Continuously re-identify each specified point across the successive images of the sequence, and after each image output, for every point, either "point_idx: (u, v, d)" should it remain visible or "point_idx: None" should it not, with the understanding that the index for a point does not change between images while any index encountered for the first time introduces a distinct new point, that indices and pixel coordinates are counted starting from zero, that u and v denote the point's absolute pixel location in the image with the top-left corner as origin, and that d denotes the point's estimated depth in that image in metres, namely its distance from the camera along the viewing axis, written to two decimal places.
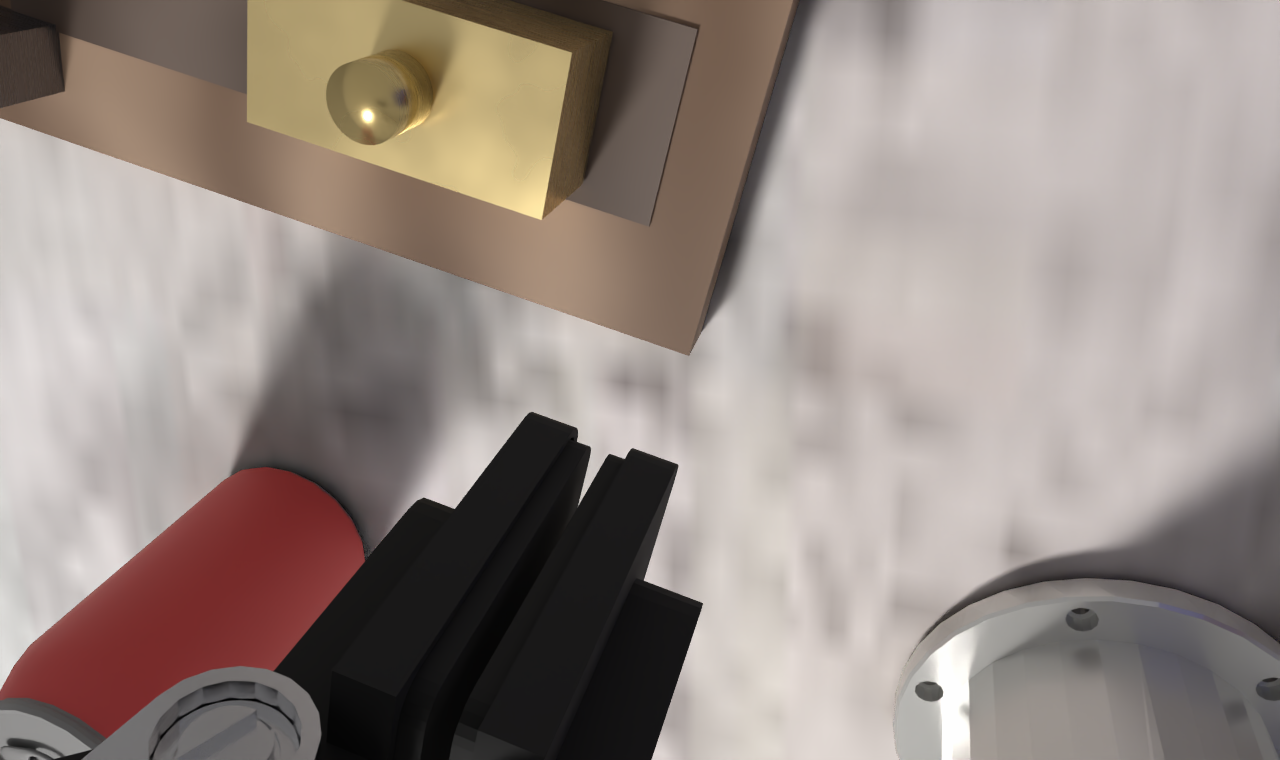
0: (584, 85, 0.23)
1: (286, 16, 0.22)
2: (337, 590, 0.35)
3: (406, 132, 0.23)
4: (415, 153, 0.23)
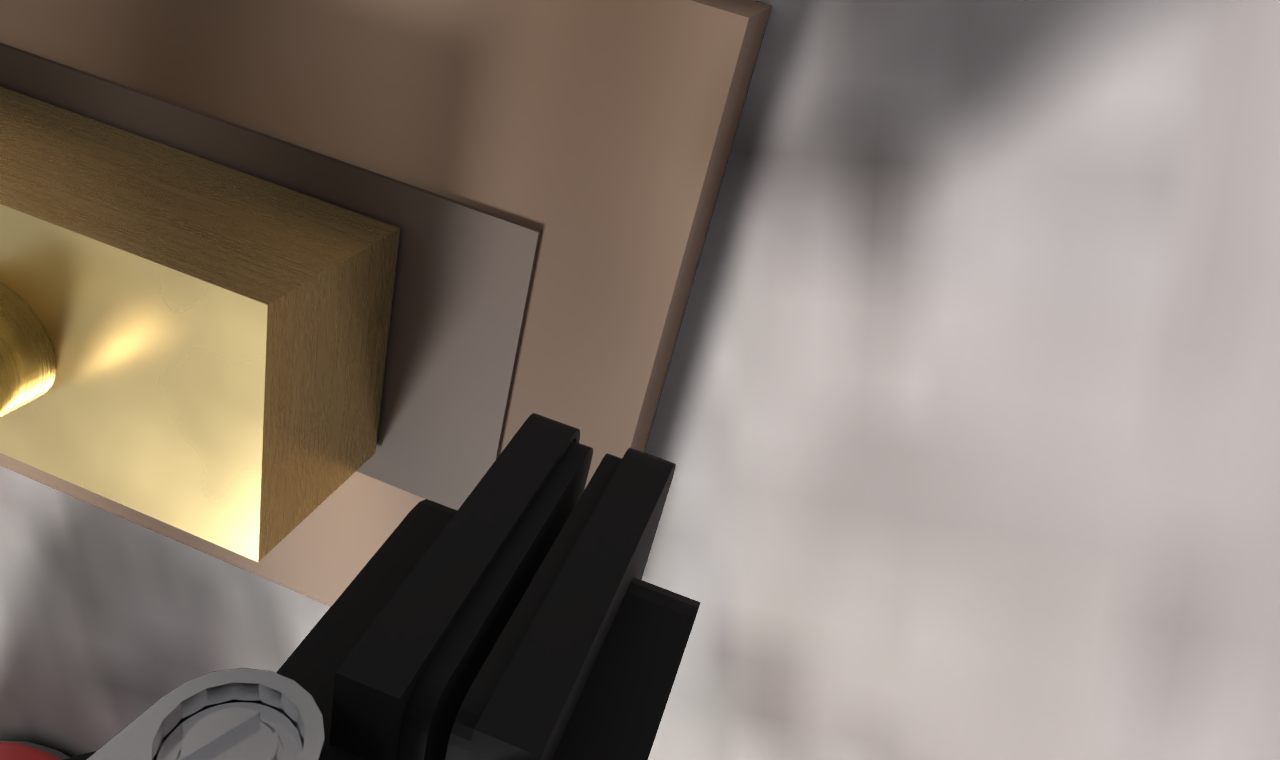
0: (332, 332, 0.13)
1: None
2: None
3: (25, 405, 0.13)
4: (45, 438, 0.13)
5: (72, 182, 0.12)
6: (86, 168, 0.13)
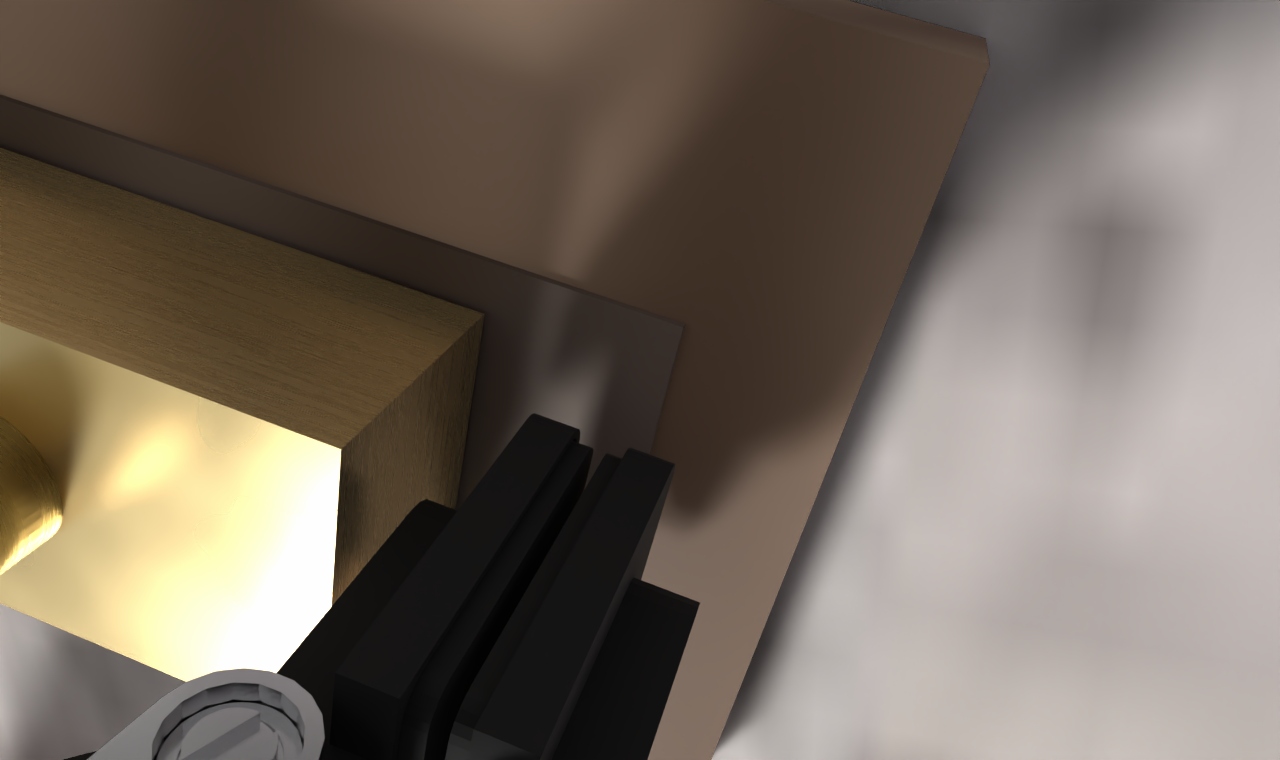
0: (410, 456, 0.10)
1: None
2: None
3: None
4: (51, 588, 0.11)
5: (75, 276, 0.10)
6: (92, 253, 0.10)
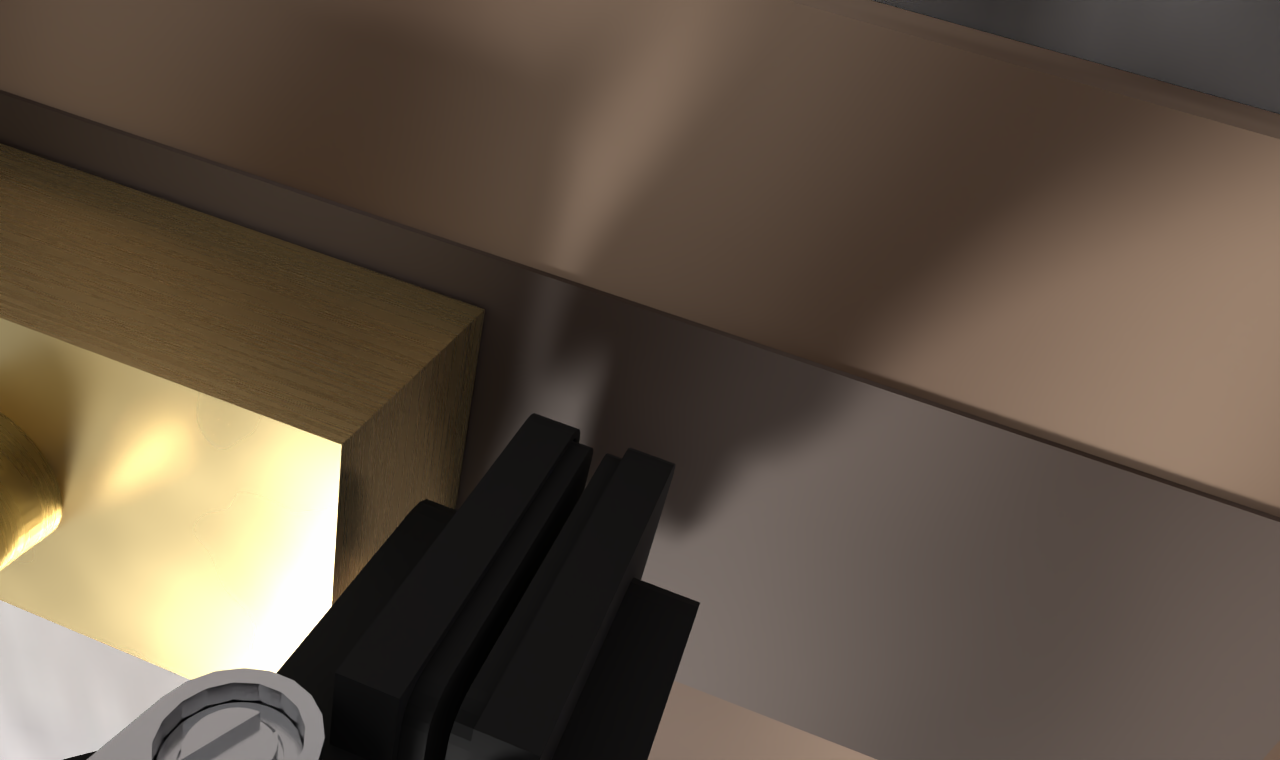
0: (411, 450, 0.10)
1: None
2: None
3: None
4: (51, 585, 0.11)
5: (73, 271, 0.10)
6: (91, 248, 0.10)
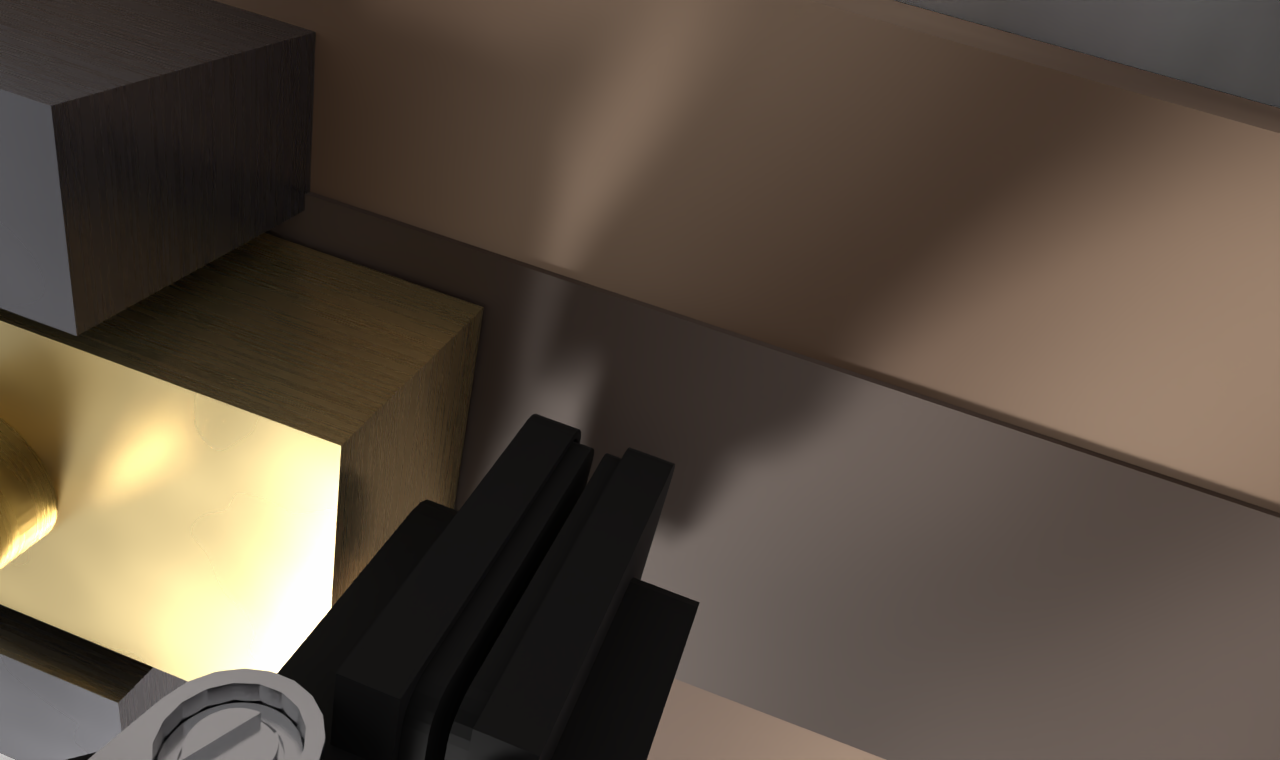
0: (410, 450, 0.10)
1: None
2: None
3: None
4: (46, 587, 0.10)
5: None
6: None
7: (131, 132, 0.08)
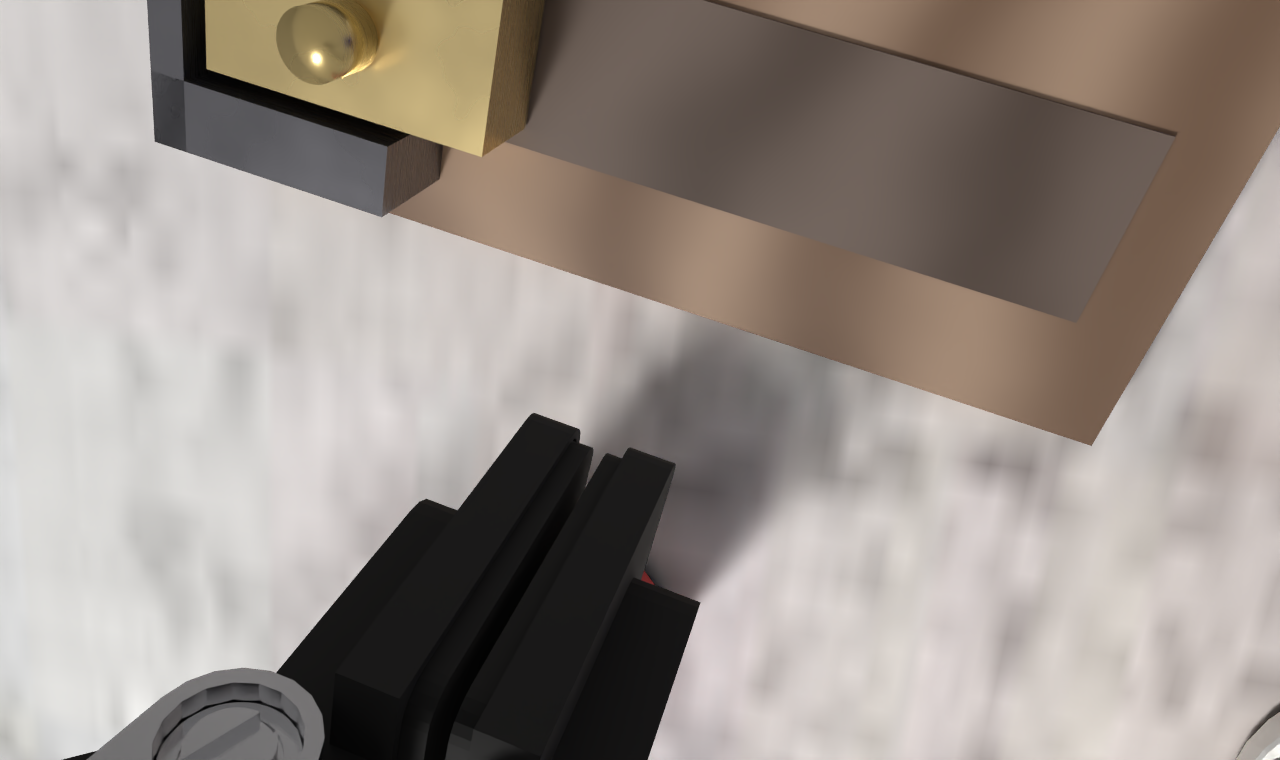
0: (520, 30, 0.24)
1: None
2: None
3: (354, 75, 0.24)
4: (363, 95, 0.25)
5: None
6: None
7: None
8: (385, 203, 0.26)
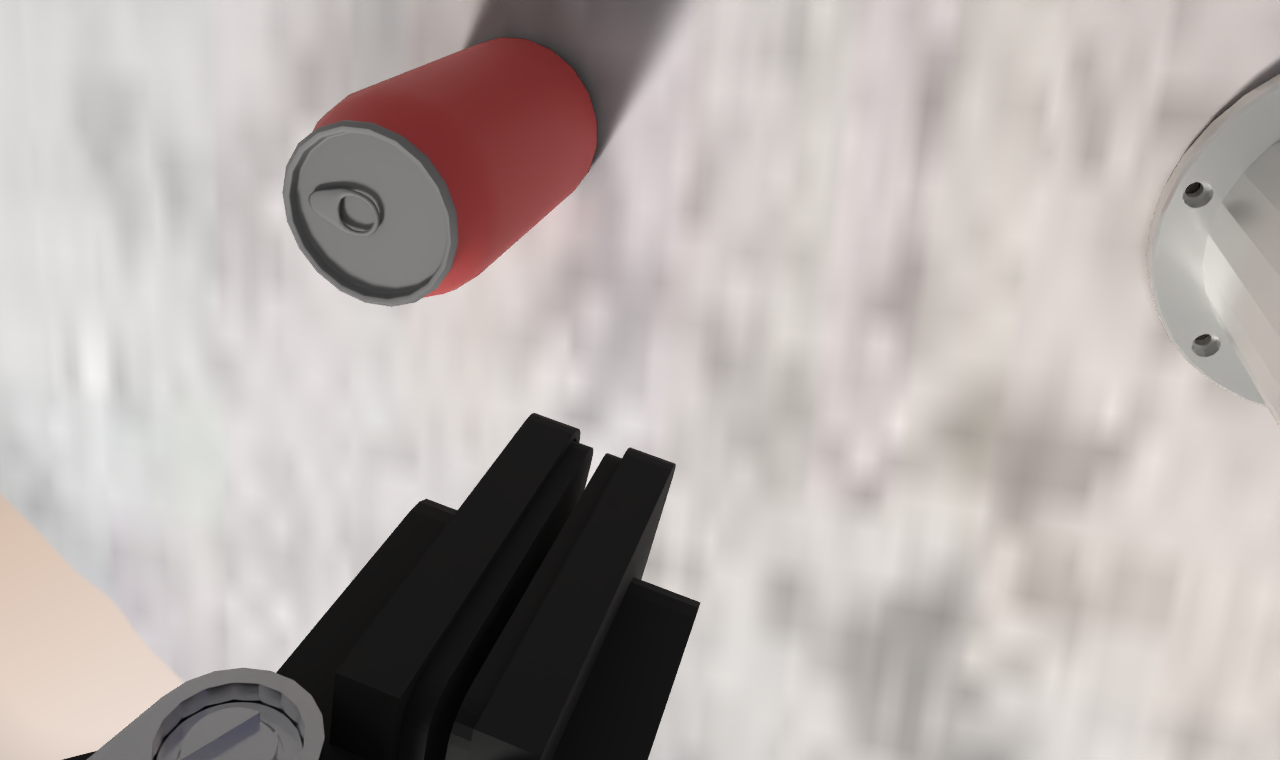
0: None
1: None
2: (581, 149, 0.35)
3: None
4: None
5: None
6: None
7: None
8: None
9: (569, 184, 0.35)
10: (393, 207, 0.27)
